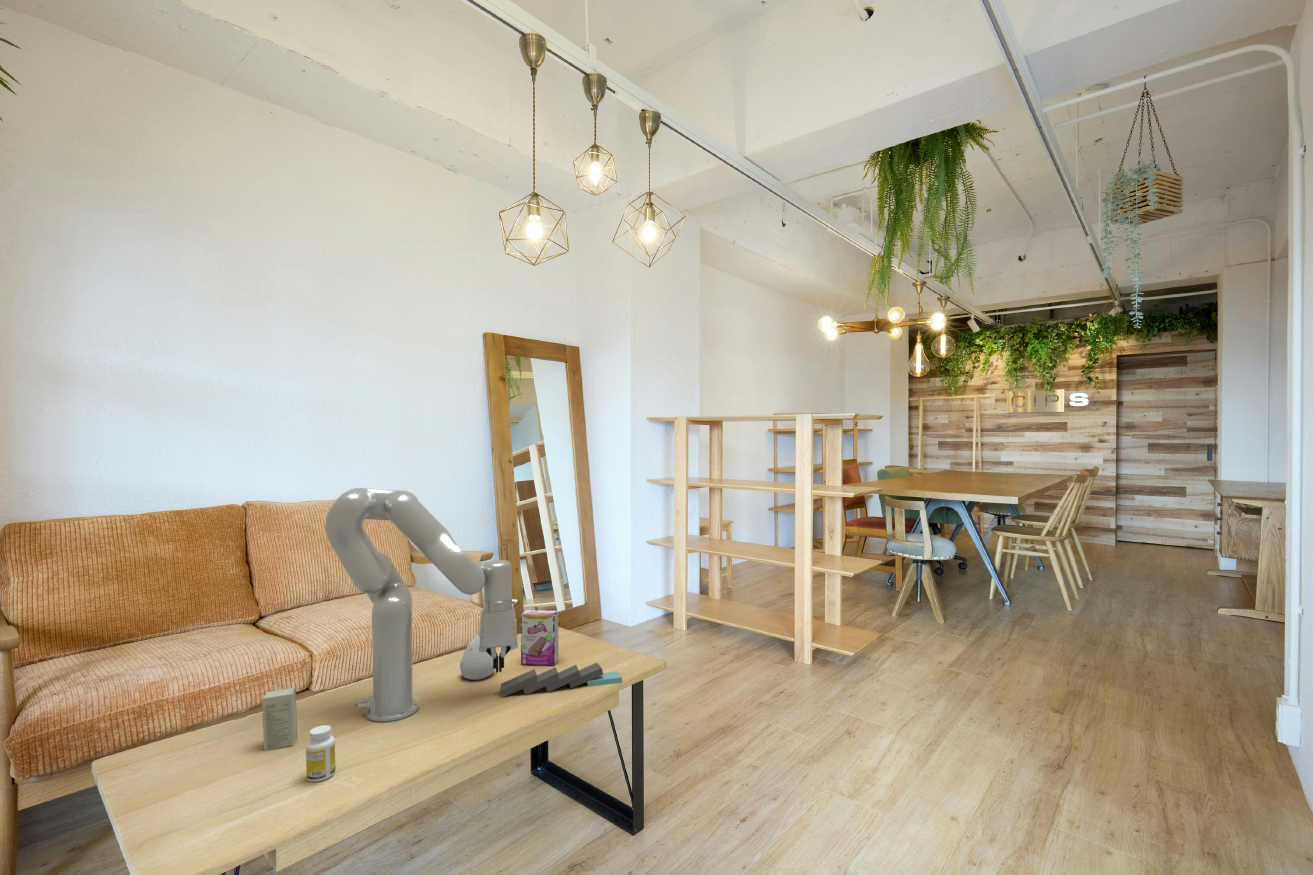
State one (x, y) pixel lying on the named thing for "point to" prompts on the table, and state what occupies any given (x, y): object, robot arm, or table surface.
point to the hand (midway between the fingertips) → (498, 670)
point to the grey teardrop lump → (476, 662)
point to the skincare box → (279, 718)
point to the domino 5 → (605, 679)
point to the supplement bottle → (320, 754)
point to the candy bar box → (539, 637)
